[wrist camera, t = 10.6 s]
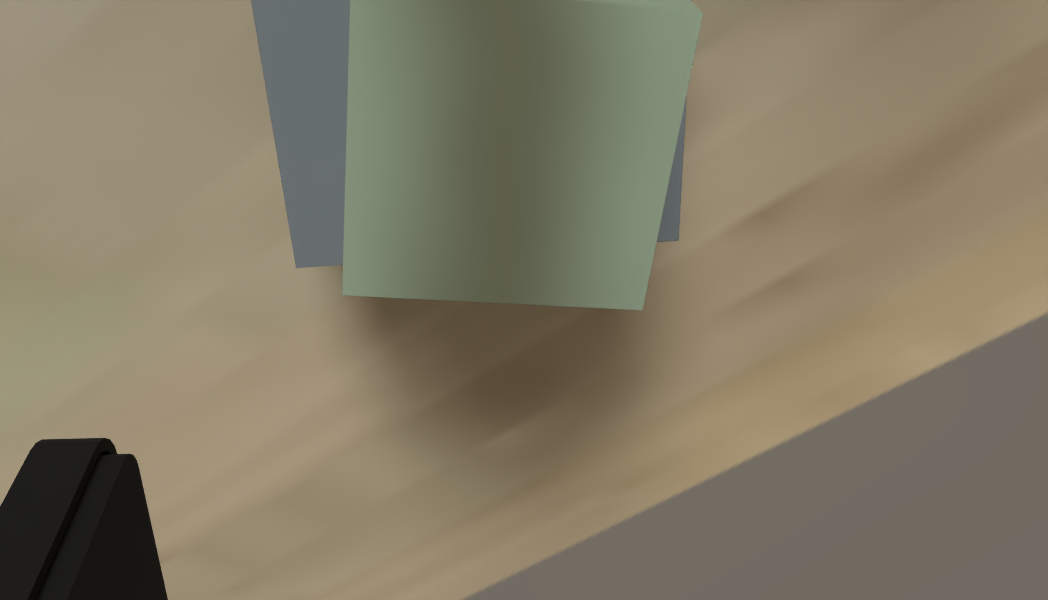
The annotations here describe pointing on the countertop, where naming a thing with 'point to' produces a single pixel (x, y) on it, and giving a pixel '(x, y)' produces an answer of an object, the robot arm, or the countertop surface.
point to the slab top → (336, 123)
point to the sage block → (511, 147)
